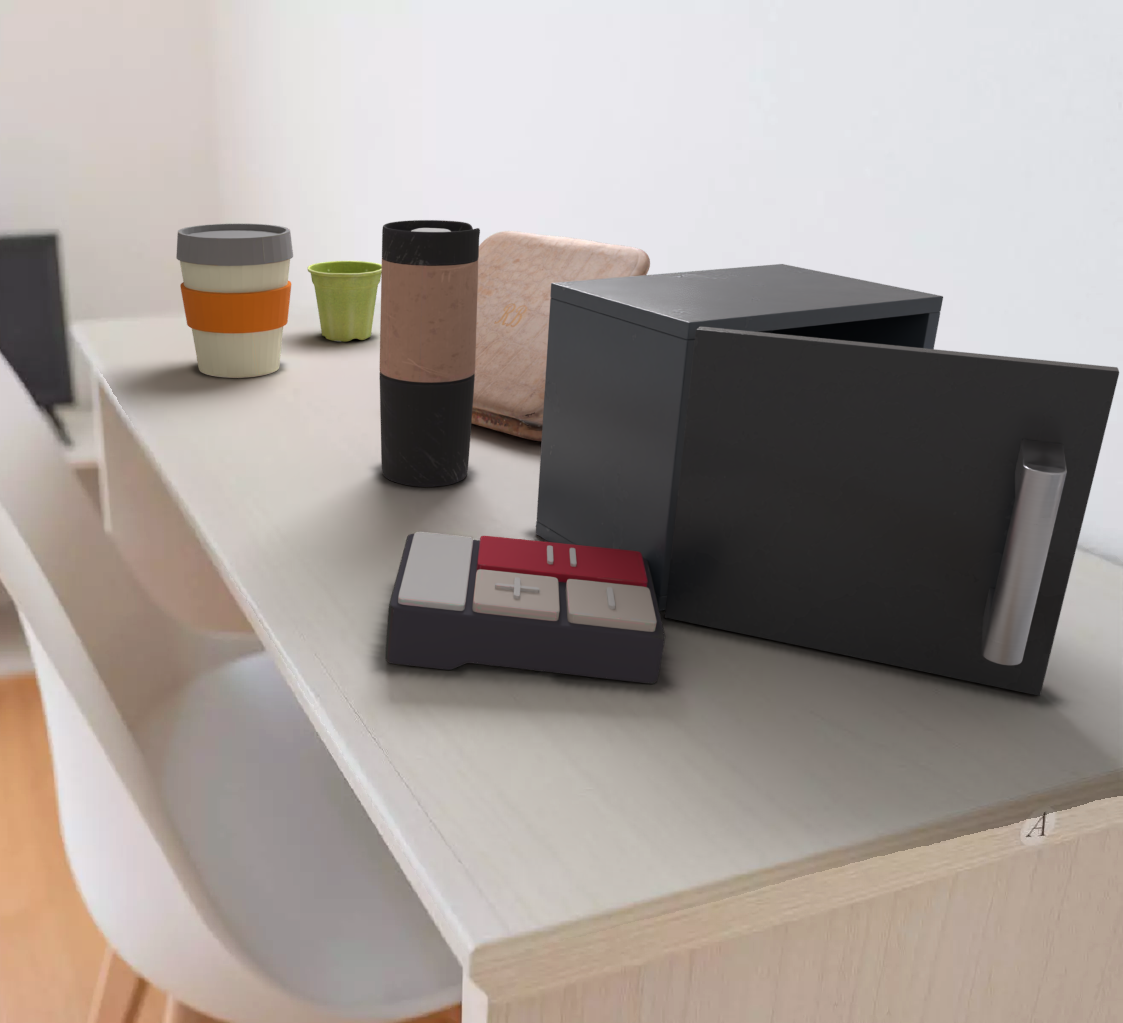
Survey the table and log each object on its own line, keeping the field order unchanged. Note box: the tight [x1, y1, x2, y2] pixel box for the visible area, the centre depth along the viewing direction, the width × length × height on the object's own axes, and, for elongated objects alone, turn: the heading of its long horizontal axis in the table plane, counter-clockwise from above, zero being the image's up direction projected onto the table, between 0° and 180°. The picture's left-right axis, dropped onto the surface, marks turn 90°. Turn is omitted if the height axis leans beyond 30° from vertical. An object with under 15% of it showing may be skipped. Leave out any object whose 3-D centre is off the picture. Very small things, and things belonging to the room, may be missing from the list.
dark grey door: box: [664, 326, 1120, 697], centre depth 61 cm, size 6×20×18 cm, turn 62°
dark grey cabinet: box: [535, 263, 944, 612], centre depth 78 cm, size 14×20×18 cm
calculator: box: [384, 531, 666, 685], centre depth 68 cm, size 11×4×15 cm
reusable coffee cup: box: [175, 223, 294, 379], centre depth 126 cm, size 13×12×15 cm
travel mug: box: [379, 219, 481, 488], centre depth 92 cm, size 8×8×20 cm
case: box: [471, 230, 651, 442], centre depth 111 cm, size 20×21×16 cm
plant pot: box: [307, 260, 382, 343], centre depth 142 cm, size 9×9×9 cm
